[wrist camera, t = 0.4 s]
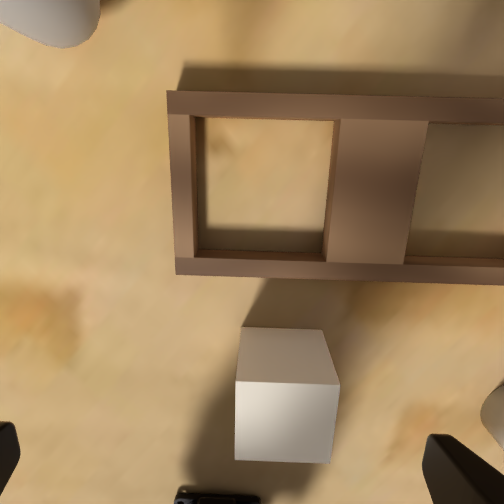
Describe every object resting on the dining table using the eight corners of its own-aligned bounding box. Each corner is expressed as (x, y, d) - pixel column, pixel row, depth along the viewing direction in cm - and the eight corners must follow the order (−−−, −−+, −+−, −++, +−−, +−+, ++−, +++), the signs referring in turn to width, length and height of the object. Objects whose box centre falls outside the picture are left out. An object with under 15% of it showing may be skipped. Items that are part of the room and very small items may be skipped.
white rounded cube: (314, 394, 22) (329, 463, 17) (240, 391, 22) (234, 459, 17) (321, 328, 20) (340, 384, 16) (241, 326, 20) (235, 381, 16)
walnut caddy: (529, 276, 19) (551, 287, 17) (182, 264, 19) (175, 274, 18) (583, 105, 16) (614, 101, 15) (174, 95, 16) (166, 90, 15)
